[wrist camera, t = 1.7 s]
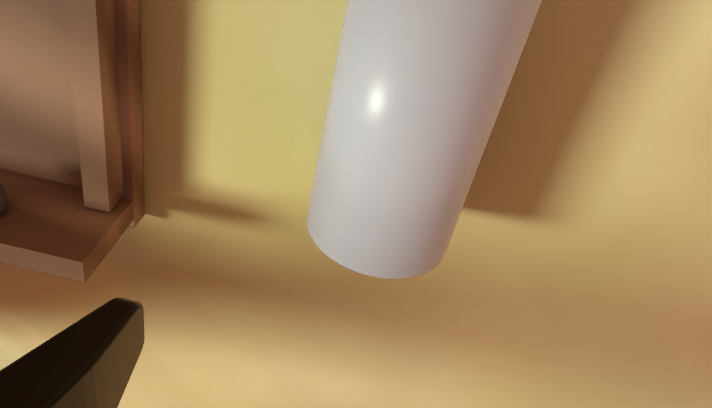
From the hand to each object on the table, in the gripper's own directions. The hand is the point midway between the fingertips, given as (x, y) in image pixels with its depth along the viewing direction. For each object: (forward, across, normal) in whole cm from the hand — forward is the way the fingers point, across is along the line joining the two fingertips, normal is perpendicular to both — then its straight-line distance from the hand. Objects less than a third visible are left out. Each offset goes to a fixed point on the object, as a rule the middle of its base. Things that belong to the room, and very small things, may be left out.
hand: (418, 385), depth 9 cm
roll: (+13, 0, 0) cm, 13 cm away
